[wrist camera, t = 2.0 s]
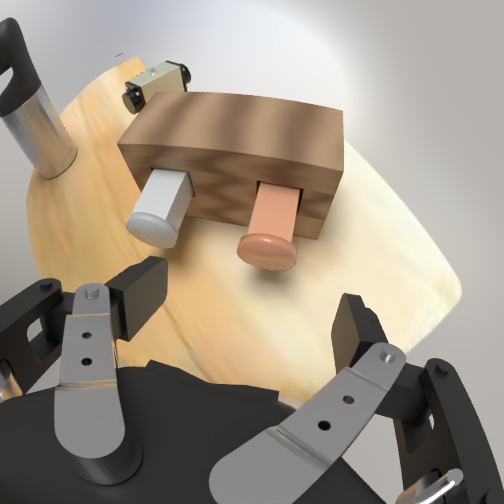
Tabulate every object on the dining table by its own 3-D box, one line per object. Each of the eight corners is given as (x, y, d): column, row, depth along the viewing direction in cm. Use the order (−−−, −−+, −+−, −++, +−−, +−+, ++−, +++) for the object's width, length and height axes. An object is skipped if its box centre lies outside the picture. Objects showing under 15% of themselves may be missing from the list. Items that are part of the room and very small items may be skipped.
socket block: (150, 209, 37) (116, 143, 25) (175, 158, 41) (156, 92, 29) (316, 239, 35) (343, 171, 23) (322, 180, 39) (342, 110, 27)
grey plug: (137, 242, 30) (118, 216, 25) (170, 170, 35) (159, 140, 30) (180, 252, 29) (167, 225, 24) (209, 175, 34) (203, 143, 29)
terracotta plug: (238, 263, 29) (235, 238, 24) (259, 182, 33) (260, 150, 28) (291, 274, 28) (299, 250, 23) (304, 190, 33) (312, 159, 28)
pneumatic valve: (197, 109, 47) (188, 56, 36) (147, 142, 43) (128, 87, 32) (180, 101, 49) (170, 51, 38) (132, 131, 45) (113, 81, 34)
